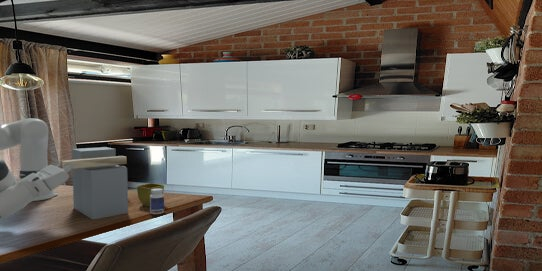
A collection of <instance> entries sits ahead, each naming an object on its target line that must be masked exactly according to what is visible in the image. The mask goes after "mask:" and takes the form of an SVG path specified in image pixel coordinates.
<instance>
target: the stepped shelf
mask: <svg viewBox="0 0 542 271" xmlns="http://www.w3.org/2000/svg"><path fill="white" fill-rule="evenodd" d="M116 154H117V153H116V148H111V147H107V146H101V147H85V148H71V156H72V158H71V160H77V159H89V158H102V157H115V156H117V155H116ZM122 166H123V165H119V164H118V165H108V166H97V167H87V168H76V169H72V191H73V194H72V195H73V209H75V210H76V211H77V212H79V213H82V214H83V215H84V216H85V217H86V216H87V217H88V218H89V219H91V220H98V219H104V218H107V217H114V216H119V215H120V216H121V215H124V214H128V213H129V195H128V191H129V190H128V188H129V186H128V167H122Z"/></svg>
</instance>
